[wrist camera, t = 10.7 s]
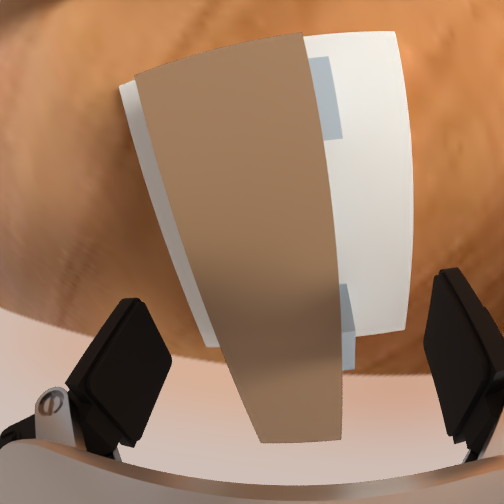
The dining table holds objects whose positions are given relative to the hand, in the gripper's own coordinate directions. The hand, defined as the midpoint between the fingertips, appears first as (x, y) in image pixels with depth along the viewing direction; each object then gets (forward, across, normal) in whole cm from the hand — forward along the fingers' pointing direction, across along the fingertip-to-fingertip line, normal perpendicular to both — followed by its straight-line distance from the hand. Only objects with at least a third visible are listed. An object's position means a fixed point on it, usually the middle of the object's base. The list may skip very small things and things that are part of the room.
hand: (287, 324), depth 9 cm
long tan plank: (+4, 0, 0) cm, 4 cm away
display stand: (+9, +1, 0) cm, 9 cm away
